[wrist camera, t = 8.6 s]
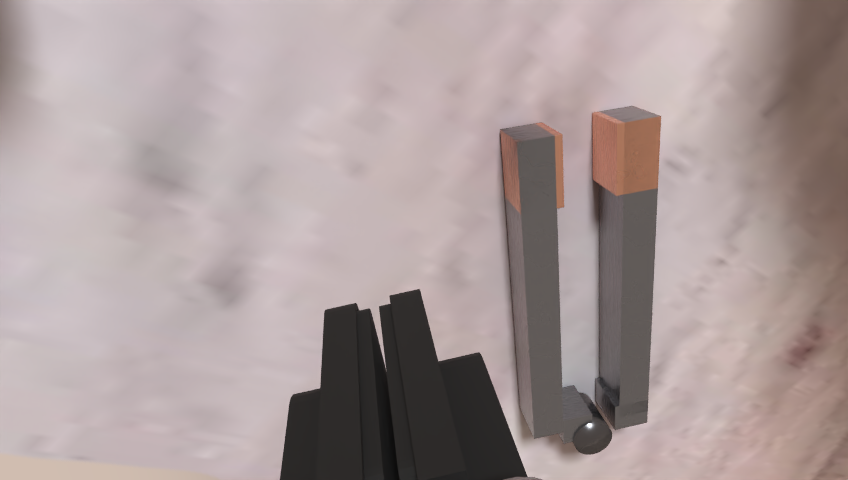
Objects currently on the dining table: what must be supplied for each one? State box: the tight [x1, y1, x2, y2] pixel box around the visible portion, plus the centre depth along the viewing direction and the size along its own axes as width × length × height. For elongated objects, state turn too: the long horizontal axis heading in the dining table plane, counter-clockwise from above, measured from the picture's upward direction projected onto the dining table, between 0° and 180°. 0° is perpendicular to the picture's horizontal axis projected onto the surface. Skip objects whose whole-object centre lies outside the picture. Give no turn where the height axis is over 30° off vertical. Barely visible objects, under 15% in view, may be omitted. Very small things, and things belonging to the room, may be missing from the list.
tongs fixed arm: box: [592, 106, 661, 430], centre depth 34 cm, size 2×21×3 cm, turn 8°
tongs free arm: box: [500, 123, 612, 454], centre depth 34 cm, size 5×22×3 cm, turn 7°
